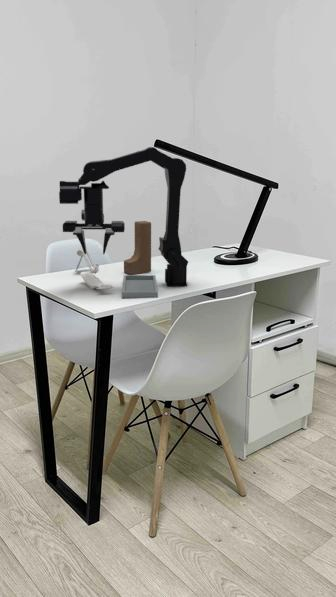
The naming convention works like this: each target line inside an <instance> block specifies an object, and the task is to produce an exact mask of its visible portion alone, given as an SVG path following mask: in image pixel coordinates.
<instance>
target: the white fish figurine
mask: <svg viewBox="0 0 336 597" xmlns="http://www.w3.org/2000/svg"><path fill="white" fill-rule="evenodd" d="M80 276H81V278H82V279H83V281H84V283H85V284H86V286H88V287H89V288H90V289H93V290H95V289H96V290H108V289H109V290H110V289H113V288H114V286H112V285H110V284H105V283H104V282H103V281H102V280H100V277H97V276H96V275H95V274H94V273H92V272H91V271H81V272H80Z"/></svg>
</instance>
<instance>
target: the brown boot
mask: <svg viewBox="0 0 336 597" xmlns="http://www.w3.org/2000/svg"><path fill="white" fill-rule="evenodd" d="M151 272H152V222H151V221H147V220H140V221H138V220H137V221H134V251H133V255H132V256H131V257H130V258H127V259H125V260H123V273H124V274H127V275H140V274H146V273H151ZM139 273H140V274H139Z"/></svg>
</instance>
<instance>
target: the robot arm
mask: <svg viewBox="0 0 336 597" xmlns="http://www.w3.org/2000/svg"><path fill="white" fill-rule="evenodd" d="M147 162H152V163H153V164H155V165H157V166H159V167H160V168H162V169H163V170H164V176H165V182H166V187H167V192H166V194H167V195H166V196H167V197H166V213H165V231H164V235H163V237H161V236H160V237H159V238H158V239H159V246H158V250H159V252H160V254H161V257H163V259H165V261H166V262H167V264H166V268H164V283H165V284H166V286H167V287H173V286H174V287H176V286H177V287H183V286H184V287H187V286H188V282H187V274H188V270H187V269H188V265H189V261H188V259H186V258H185V256H183V255H182V245H181V242H180V240H181V239H180V236H179V225H180V207H181V206H180V205H181V189H182V186H183V184H184V181H185V176H186V172H187V165H186V163H185V161H184V160H183V159H181V158H178V157H177V158H176V157H172V156H169V155H168V154H165V153H164V152H162V151H160V150H158V149H157V148H156V147H154V146H148V147H146V148H144V149H142V150H137V151H135V152H131V153H127V154H125V155H121V156H118V157H114V158H112V159H100V160H92V161H88V162H86V163H85V164H84V166H83V169H82V172H83V173H82V175H81V176H80V177H79V178H78V180H77V181H65V180H60V181H59V192H58V198H59V199H58V200H59V205H61V204H62V205H69V204H70V205H74V204H75V205H78V204H79V202H81V201H82V199H83V207H84V209H81V212H80V214H81V217H80V218H81V220H82V221H84V223H83V222H82V223H78V220H65V221H64V222H63V223H62V232H63V233H72V234H73V236H76V237H77V239H78V242H79V244H80V245H81V246H82V248H83V251H84V254H85V255H87V253H86V249H87V244H86V239H85V230H105V231H104V237H103V246H102V247H103V248H102V254H103V255H105V254H106V250H107V246H108V244H109V243H108V242H109V240H110V238H111V236H114V235H115V233H125V229H126V228H125V227H126V226H125V222H124V221H122V220H111V223H105V214H104V194H103V190H108V189H110V187H109V186H108V185H107V183H106V182H105V181H104V180H102V181H101V182H98V181H100V180H101V179H104V178H106V177H108V176H109V175H111V174H113V173H115V172H117V171H120V170H124V169H127V168H128V169H129V168H131V167H134V166H137V165H142V164H144V163H147ZM89 183H90V186H89V185H87V184H89ZM82 190H83V194H82ZM82 196H83V197H82ZM81 246H80V247H81Z"/></svg>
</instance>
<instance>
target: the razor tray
mask: <svg viewBox="0 0 336 597" xmlns="http://www.w3.org/2000/svg"><path fill="white" fill-rule="evenodd" d="M121 288H122V289H121V299H122V300H124V299H145V298H146V299H149V298H150V299H151V298H152V299H153V298H158V297H159V295H158V294H159V293H158V285H157V277H156V275H154V274H153V275H151V274H147V275H145V274H142V275H141V274H132V275H129V274H127V275H126V274H125V275H123V277H122V286H121Z"/></svg>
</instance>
